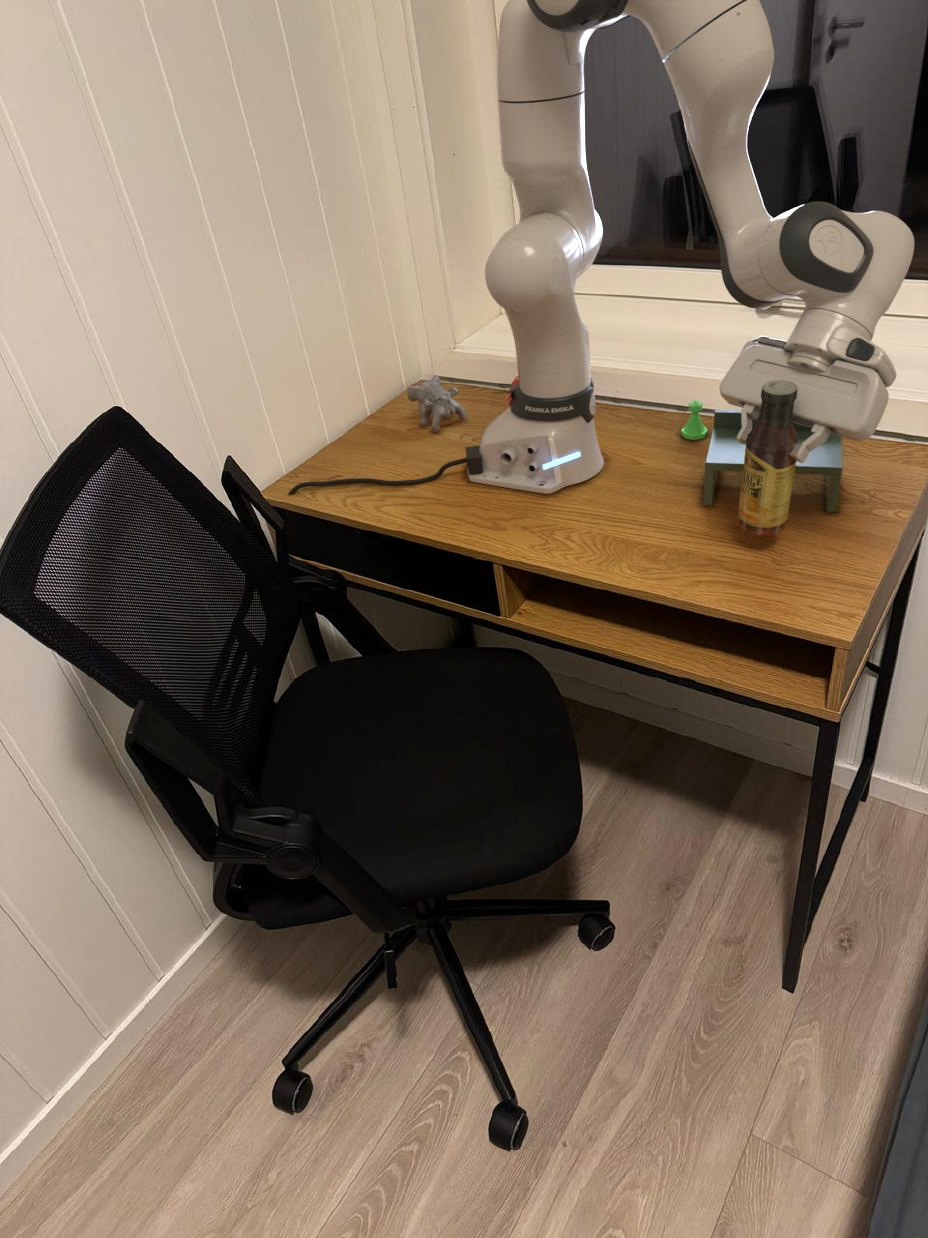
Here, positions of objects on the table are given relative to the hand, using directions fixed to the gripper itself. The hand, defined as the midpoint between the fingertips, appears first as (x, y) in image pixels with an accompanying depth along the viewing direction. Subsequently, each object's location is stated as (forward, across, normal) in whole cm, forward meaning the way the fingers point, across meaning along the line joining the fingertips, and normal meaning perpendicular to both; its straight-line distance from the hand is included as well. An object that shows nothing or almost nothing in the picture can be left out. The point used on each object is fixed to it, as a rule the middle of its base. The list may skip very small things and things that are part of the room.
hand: (769, 451), depth 106 cm
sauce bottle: (+8, 0, +9) cm, 12 cm away
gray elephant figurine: (+12, -70, +10) cm, 72 cm away
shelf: (0, -8, +20) cm, 22 cm away
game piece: (-5, -28, +26) cm, 39 cm away
